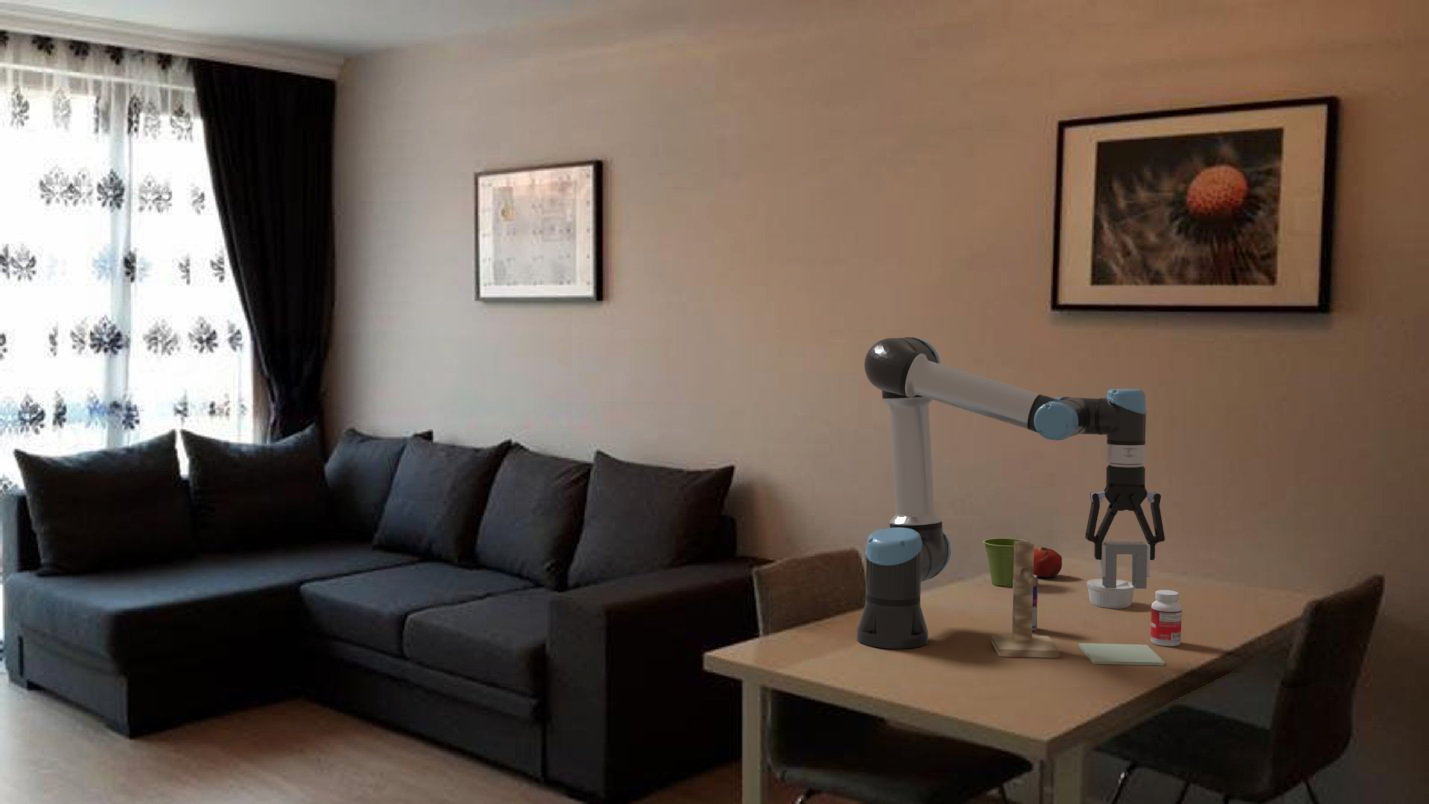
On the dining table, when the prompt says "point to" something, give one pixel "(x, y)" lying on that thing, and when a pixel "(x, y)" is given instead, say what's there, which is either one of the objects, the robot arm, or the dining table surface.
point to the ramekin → (1110, 594)
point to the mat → (1121, 654)
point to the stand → (1023, 612)
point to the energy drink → (1034, 612)
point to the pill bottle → (1166, 619)
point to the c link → (1138, 562)
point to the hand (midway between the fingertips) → (1124, 575)
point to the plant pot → (1001, 560)
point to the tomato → (1046, 562)
